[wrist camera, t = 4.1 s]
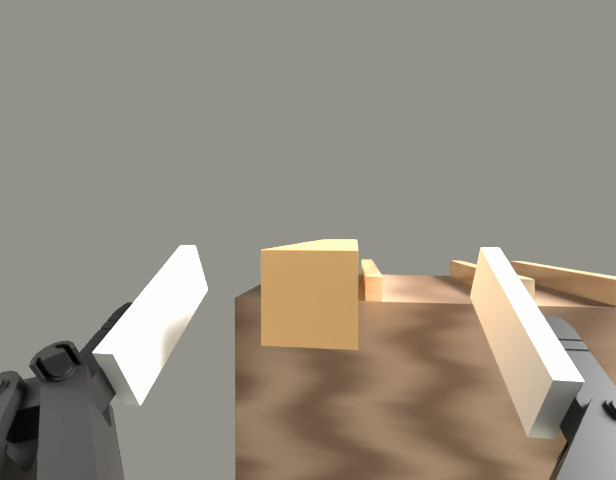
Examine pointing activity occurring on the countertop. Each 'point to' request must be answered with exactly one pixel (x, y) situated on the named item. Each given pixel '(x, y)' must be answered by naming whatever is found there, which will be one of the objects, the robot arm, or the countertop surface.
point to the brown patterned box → (405, 383)
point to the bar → (310, 295)
